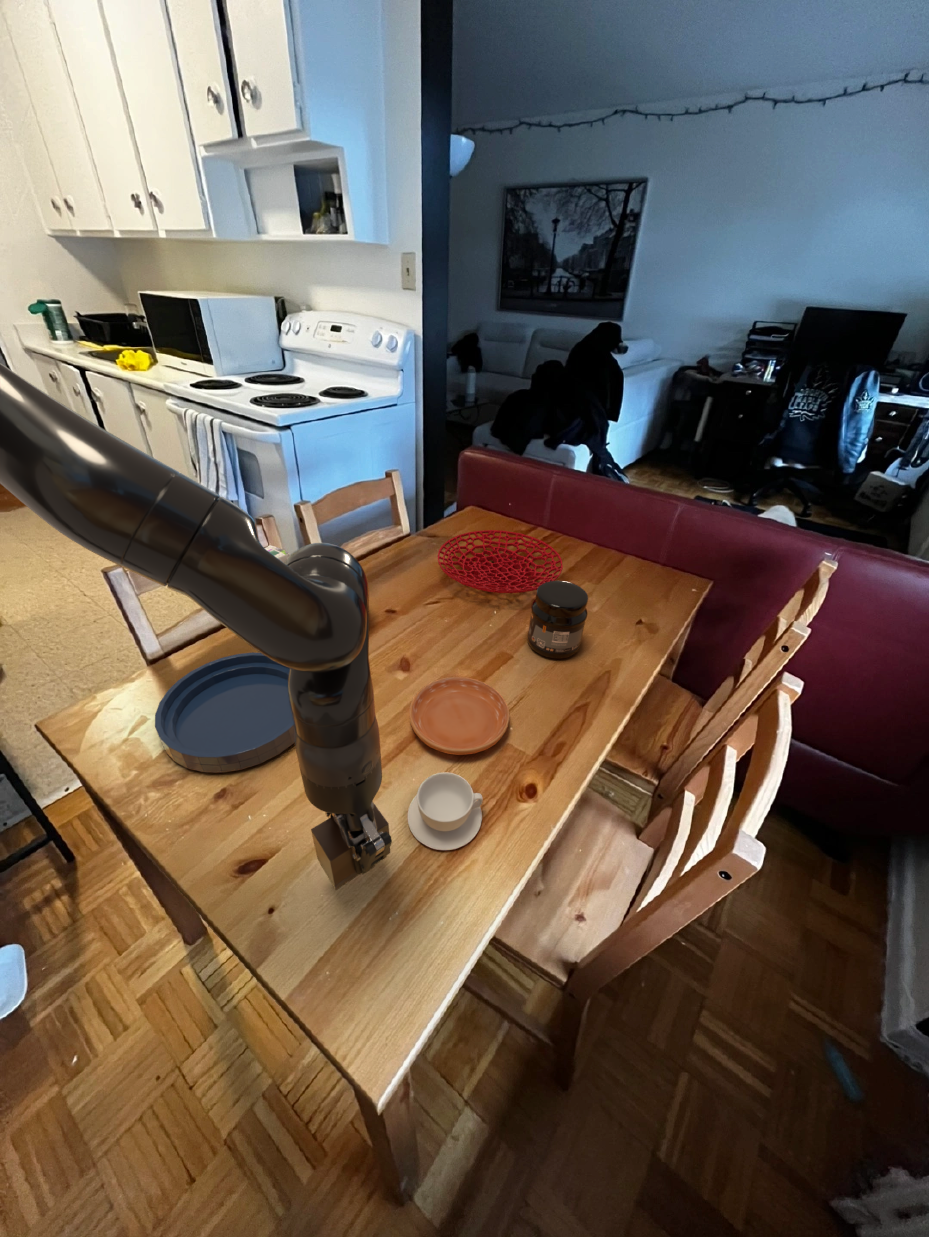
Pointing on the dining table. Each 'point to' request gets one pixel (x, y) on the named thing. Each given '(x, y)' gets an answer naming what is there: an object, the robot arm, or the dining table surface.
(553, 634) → the supplement container
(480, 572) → the bowl
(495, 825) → the dining table surface
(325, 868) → the dark brown block
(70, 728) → the dining table surface
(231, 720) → the glazed bowl
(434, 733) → the saucer
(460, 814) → the teacup
